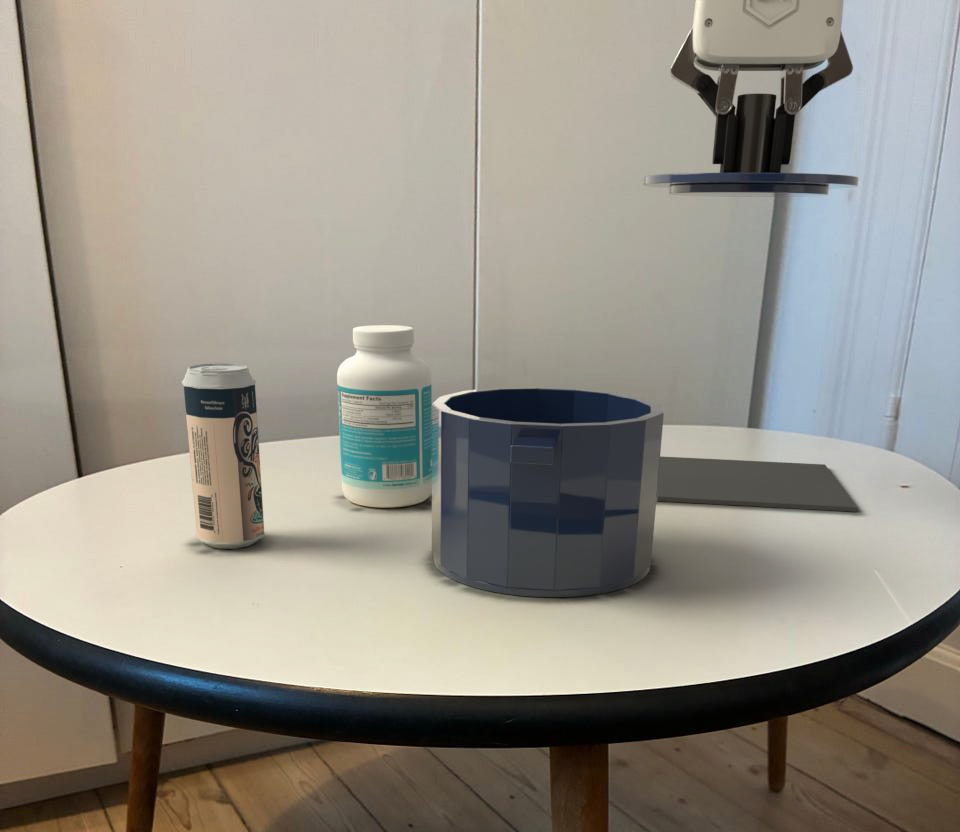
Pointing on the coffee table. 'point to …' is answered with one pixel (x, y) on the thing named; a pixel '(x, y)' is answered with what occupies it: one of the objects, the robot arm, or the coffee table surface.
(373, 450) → the pill bottle
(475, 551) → the pot
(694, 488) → the trivet
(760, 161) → the lid
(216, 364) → the beer can
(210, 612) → the coffee table surface
